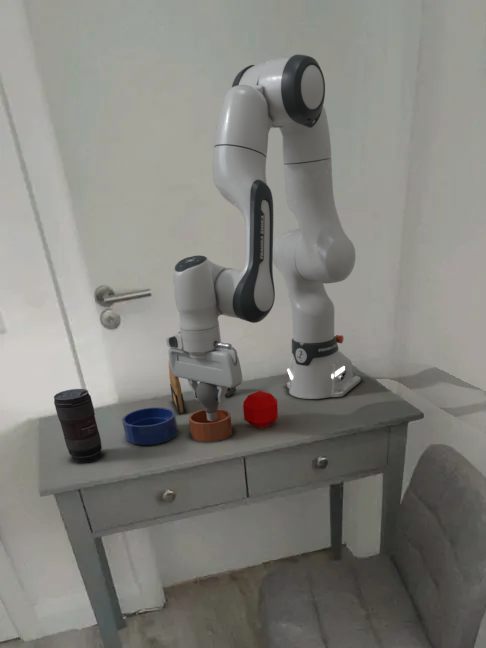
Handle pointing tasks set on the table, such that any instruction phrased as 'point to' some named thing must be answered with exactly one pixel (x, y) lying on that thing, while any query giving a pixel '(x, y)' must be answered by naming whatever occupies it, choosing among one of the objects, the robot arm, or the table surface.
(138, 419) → the blue bowl
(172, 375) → the ammunition clip
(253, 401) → the ball
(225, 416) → the terracotta dish
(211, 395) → the light bulb
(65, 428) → the camera lens
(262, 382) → the table surface
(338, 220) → the robot arm
